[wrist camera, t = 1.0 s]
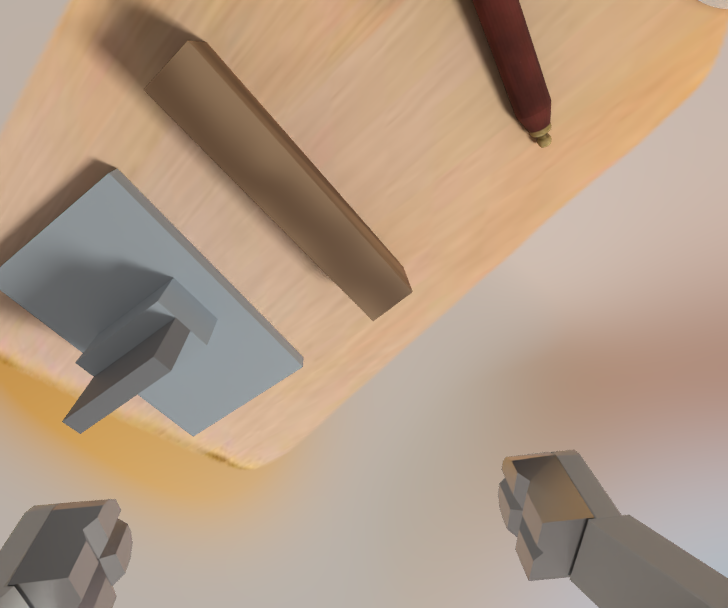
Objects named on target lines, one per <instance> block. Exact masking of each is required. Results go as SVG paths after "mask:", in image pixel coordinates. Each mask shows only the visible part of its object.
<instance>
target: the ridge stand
mask: <svg viewBox="0 0 728 608" xmlns="http://www.w3.org/2000/svg"><path fill="white" fill-rule="evenodd" d="M0 290H1V291H2V292H3V293H5V294H6V295H7V296H8V297H10V298H11V299H12V300H14V301H15V302H16V303H18V304H19V305H20V306H22V307H23V308H24V309H26V310H27V311H28V312H30V313H31V314H32V315H33V316H35V317H36V318H37V319H39V320H40V321H41V322H43V323H44V324H45V325H47V326H48V327H49V328H51V329H52V330H53V331H55V332H56V333H57V334H59V335H60V336H61V337H62V338H64V339H65V340H66V341H68V342H69V343H70V344H72V345H73V346H74V347H76V348H77V349H78V350H80V351H81V352H82V353H83V354H82V355H81V356H80V358H79V359H78V360H77V361H76V362H75V363H76V364H78V365H79V366H80V367H82V368H83V369H84V370H86V371H87V372H88V373H90V374H91V375H93V376H94V378H93V379H92V380H91V382H90V383H89V385H88V386H87V387H86V389H85V390H84V392H83V393H82V394H81V396H80V397H79V399H78V400H77V401H76V403H75V404H74V406H73V407H72V408H71V410H70V411H69V413H68V414H67V415H66V417H65V418H64V420H63V421H62V422H63V423H65V424H66V425H68V426H69V427H71V428H72V429H74V430H76V431H77V432H78V433H80V434H81V433H82V432H84V431H85V430H86V429H88V428H90V427H91V426H92V425H94V424H95V423H97V422H98V421H100V420H101V419H103V418H104V417H105V416H107V415H108V414H110V413H111V412H113V411H114V410H116V409H117V408H118V407H120V406H121V405H123V404H124V403H126V402H127V401H129V400H130V399H131V398H133V397H134V396H136V395H137V394H138V395H139V396H140V397H142V398H143V399H144V400H146V401H147V402H148V403H149V404H151V405H152V406H153V407H155V408H156V409H157V410H159V411H160V412H161V413H163V414H164V415H165V416H167V417H168V418H169V419H171V420H172V421H173V422H175V423H176V424H177V425H178V426H180V427H181V428H182V429H184V430H185V431H186V432H188V433H189V434H190V435H192V436H195V435H197V434H198V433H200V432H201V431H203V430H204V429H206V428H208V427H209V426H211V425H212V424H214V423H215V422H217V421H219V420H220V419H222V418H223V417H225V416H226V415H228V414H230V413H231V412H233V411H234V410H236V409H237V408H239V407H241V406H242V405H244V404H245V403H247V402H248V401H250V400H252V399H253V398H255V397H256V396H258V395H259V394H261V393H263V392H264V391H266V390H267V389H269V388H270V387H272V386H274V385H275V384H277V383H278V382H280V381H281V380H283V379H285V378H286V377H288V376H289V375H291V374H292V373H294V372H296V371H297V370H299V369H300V368H302V367H303V356H302V355H301V354H300V353H299V352H298V351H297V350H296V349H295V348H294V347H293V346H292V345H291V344H290V343H289V342H288V341H287V340H286V339H285V338H284V337H283V336H282V335H281V334H280V333H279V332H278V331H277V330H276V329H275V328H274V327H273V326H272V325H271V324H270V323H269V322H268V321H267V320H266V319H265V318H264V317H263V316H262V315H261V314H260V313H259V312H258V311H257V310H256V309H255V308H254V307H253V306H252V305H251V304H250V303H249V302H248V301H247V300H246V299H245V298H244V297H243V295H242V294H241V293H240V292H239V291H238V290H237V289H236V288H235V287H234V286H233V285H232V284H231V283H230V282H229V281H228V280H227V279H226V278H225V277H224V276H223V275H222V274H221V273H220V272H219V271H218V270H217V269H216V268H215V267H214V266H213V265H212V264H211V263H210V262H209V261H208V260H207V259H206V258H205V257H204V256H203V255H202V254H201V253H200V252H199V251H198V250H197V249H196V248H195V247H194V246H193V245H192V244H191V243H190V242H189V241H188V240H187V239H186V238H185V237H184V236H183V235H182V234H181V233H180V232H179V231H178V230H177V229H176V228H175V226H174V225H173V224H172V223H171V222H170V221H169V220H168V219H167V218H166V217H165V216H164V215H163V214H162V213H161V212H160V211H159V210H158V209H157V208H156V207H155V206H154V205H153V204H152V203H151V202H150V201H149V200H148V199H147V198H146V197H145V196H144V195H143V194H142V193H141V192H140V191H139V190H138V189H137V188H136V187H135V186H134V185H133V184H132V183H131V182H130V181H129V180H128V179H127V178H126V177H125V176H124V175H123V174H122V173H121V172H120V171H119V170H118V169H115V170H113V171H111V172H110V173H108V174H107V175H106V176H105V177H103V178H102V179H101V180H100V181H99V182H98V183H97V184H95V185H94V186H93V187H92V188H91V189H90V190H88V191H87V192H86V193H85V194H84V195H83V196H82V197H80V198H79V199H78V200H77V201H76V202H75V203H73V204H72V205H71V206H70V207H69V208H68V209H67V210H65V211H64V212H63V213H62V214H61V215H60V216H58V217H57V218H56V219H55V220H54V221H53V222H52V223H50V224H49V225H48V226H47V227H46V228H45V229H43V230H42V231H41V232H40V233H39V234H38V235H37V236H35V237H34V238H33V239H32V240H31V241H30V242H28V243H27V244H26V245H25V246H24V247H23V248H22V249H20V250H19V251H18V252H17V253H16V254H15V255H13V256H12V257H11V258H10V259H9V260H8V261H7V262H5V263H4V264H3V265H2V266H1V267H0Z"/></svg>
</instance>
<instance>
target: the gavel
mask: <svg viewBox="0 0 728 608" xmlns="http://www.w3.org/2000/svg"><path fill="white" fill-rule="evenodd" d="M472 1H473V3H474V6H475V9H476V11H477V14H478V17H479V19H480V22H481V25H482V27H483V30H484V33H485V35H486V38H487V41H488V43H489V46H490V49H491V51H492V54H493V57H494V59H495V62H496V65H497V67H498V70H499V73H500V75H501V78H502V81H503V83H504V86H505V89H506V91H507V94H508V97H509V99H510V102H511V105H512V107H513V110H514V113H515V115H516V118H517V119H518V120H519V121H520V122H521V123H522V124H523V126H524V127H525V128H526V129H527V130H528V131H529V133H530V135H531V136H532V137H537V138H538V139H537V143H538V145H539V146H540V147H541V148H544V147H547V146H549V145H550V144H551V136H550V135H549V134H548V132H549V131H550V129H551V123H550V116H551V99H550V95H549V92H548V89H547V86H546V83H545V80H544V77H543V74H542V71H541V68H540V64H539V61H538V58H537V55H536V52H535V49H534V46H533V43H532V40H531V37H530V34H529V30H528V27H527V24H526V21H525V18H524V15H523V12H522V9H521V6H520V3H519V0H472Z"/></svg>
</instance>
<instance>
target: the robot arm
mask: <svg viewBox="0 0 728 608" xmlns="http://www.w3.org/2000/svg"><path fill="white" fill-rule="evenodd" d="M699 1H700V2H702V3H704V4H707V5H709V6H712V7H716V8H722V9H728V0H699ZM502 471H503V474H504V475H505V479H503V481H502V482H500V483H499V491H498V497H499V506H500V510H501V514H502V518H503V520H504V523H505V525H506V528H507V529H508V530H509V531H510V532H511V533H513V534H514V535H515V536H516V537H518V538H517V543H516V549H515V550H516V552H517V554H518V556H519V559H520V561H521V564H522V566H523V569H524V571H525V573H526V576H527V578H528V580H529V581H533V580H544V579H555V578H565V577H570V580H571V581H572V582H573V583H574V584H575V585H576V586H577V587H578V588H579V589H580V590H581V591H582V592H583V593H584V594H585V595H586V596H587V597H589V598H590V599H591V600H592V601H593V602H594V603H595V604H596V605H597V606H598V607H599V608H728V578H726V577H725V576H723V575H722V574H720V573H718V572H717V571H715V570H714V569H713V568H711V567H709V566H708V565H706V564H705V563H703V562H702V561H700V560H699V559H697V558H695V557H694V556H692V555H691V554H689V553H688V552H686V551H685V550H683V549H681V548H680V547H678V546H677V545H675V544H674V543H672V542H671V541H669V540H668V539H666V538H664V537H663V536H661V535H660V534H658V533H656V532H655V531H653V530H652V529H650V528H649V527H647V526H646V525H644V524H643V523H641V522H640V521H638V520H636V519H635V518H633V517H632V516H630V515H621V513H620V512H619V511H618V509H617V507H616V506H615V504H614V503H613V502H612V500H611V499H610V497H609V496H608V494H607V493H606V491H605V490H604V489H603V487H602V486H601V484H600V483H599V482H598V480H597V478H596V477H595V476H594V474H593V473H592V471H591V470H590V468H589V467H588V465H587V464H586V463H585V461H584V460H583V458H582V457H581V455H580V454H579V453H578V452H577V451H575V450H566V451H556V452H544V453H535V454H527V455H518V456H510V457H506V458H505V459H504V460H503V464H502ZM120 512H121V509H120V507H119V505H118V503H117V501H116V499H108V500H95V501H84V502H83V501H82V502H70V503H59V504H48V505H37V506H33V507H32V508H30V509H29V510H28V511H27V512H26V513H25V514H24V515H23V516H22V518H21V520H20V521H19V523H18V524H17V526H16V527H15V529H14V530H13V532H12V533H11V535H10V537H9V538H8V539H7V541H6V542H5V544H4V546H3V547H2V549H1V550H0V608H112V607H113V605H114V602H115V599H116V594H115V591H114V588H113V585H114V584H115V583H116V582H117V581H118V580H119V579H120V578H121V577H122V576H123V575H124V574H125V573H126V570H127V567H128V564H129V561H130V557H131V551H132V535H131V530H130V528H129V526H128V524H127V523H125V522H123V521H122V520H120V519H118V516H119V514H120Z"/></svg>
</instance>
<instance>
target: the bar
mask: <svg viewBox="0 0 728 608" xmlns="http://www.w3.org/2000/svg"><path fill="white" fill-rule="evenodd" d="M144 91H145V92H146V93H147V94H148V95H149V96H150V97H151V98H152V99H153V100H154V101H155V102H156V103H157V104H158V105H159V106H160V107H161V108H162V109H163V110H164V111H165V112H166V113H167V114H168V115H169V116H170V117H171V118H172V119H173V120H174V121H175V122H176V123H177V124H178V125H179V126H180V127H181V128H182V129H183V130H184V131H185V132H186V133H187V134H188V135H189V136H190V137H191V138H192V139H193V140H194V141H195V142H196V143H197V144H198V145H199V146H200V147H201V148H202V149H203V150H204V151H205V152H206V153H207V154H208V155H209V156H210V157H211V158H212V159H213V160H214V161H215V162H216V163H217V164H218V165H219V166H220V167H221V168H222V169H223V170H224V171H225V172H226V173H227V174H228V175H229V176H230V177H231V178H232V179H233V180H234V181H235V182H236V183H237V184H238V185H239V186H240V187H241V188H242V189H243V190H244V191H245V192H246V193H247V194H248V195H249V197H250V198H251V199H252V200H253V201H254V202H255V203H256V204H257V205H258V206H259V207H260V208H261V209H262V210H263V211H264V212H265V213H266V214H267V215H268V216H269V217H270V218H271V219H272V220H273V221H274V222H275V223H276V224H277V225H278V226H279V227H280V228H281V229H282V230H283V231H284V232H285V233H286V234H287V235H288V236H289V237H290V238H291V239H292V240H293V241H294V242H295V243H296V244H297V245H298V246H299V247H300V248H301V249H302V250H303V251H304V252H305V253H306V254H307V255H308V256H309V257H310V258H311V259H312V260H313V261H314V262H315V263H316V264H317V265H318V266H319V267H320V268H321V269H322V270H323V271H324V272H325V273H326V274H327V275H328V276H329V277H330V278H331V279H332V280H333V281H334V282H335V283H336V284H337V285H338V286H339V287H340V288H341V289H342V290H343V291H344V292H345V293H346V294H347V295H348V296H349V297H350V298H351V299H352V300H353V301H354V302H355V303H356V304H357V305H358V306H359V307H360V308H361V309H362V310H363V311H364V312H365V313H366V315H367V316H368V317H369V318H370V319H371V320H372V321H374V320H376V319H377V318H378V317H380V316H381V315H382V314H384V313H385V312H386V311H388V310H389V309H390V308H392V307H393V306H394V305H396V304H397V303H398V302H400V301H401V300H402V299H404V298H405V297H406V296H408V295H409V294H411V293H412V289H411V286H410V284H409V281H408V278H407V276H406V273H405V270H404V268H403V266H402V265H401V264H400V263H399V261H398V260H397V259H396V258H395V257H394V256H393V255H392V253H391V252H390V251H389V250H388V249H387V248H386V247H385V245H384V244H383V243H382V242H381V241H380V240H379V239H378V237H377V236H376V235H375V234H374V233H373V232H372V231H371V229H370V228H369V227H368V226H367V225H366V224H365V223H364V222H363V220H362V219H361V218H360V217H359V216H358V215H357V214H356V212H355V211H354V210H353V209H352V208H351V207H350V206H349V204H348V203H347V202H346V201H345V200H344V199H343V198H342V196H341V195H340V194H339V193H338V192H337V191H336V190H335V188H334V187H333V186H332V185H331V184H330V183H329V182H328V180H327V179H326V178H325V177H324V176H323V175H322V174H321V172H320V171H319V170H318V169H317V168H316V167H315V166H314V164H313V163H312V162H311V161H310V160H309V159H308V158H307V156H306V155H305V154H304V153H303V152H302V151H301V150H300V148H299V147H298V146H297V145H296V144H295V143H294V142H293V140H292V139H291V138H290V137H289V136H288V135H287V134H286V132H285V131H284V130H283V129H282V128H281V127H280V126H279V124H278V123H277V122H276V121H275V120H274V119H273V118H272V116H271V115H270V114H269V113H268V112H267V111H266V110H265V108H264V107H263V106H262V105H261V104H260V103H259V102H258V100H257V99H256V98H255V97H254V96H253V95H252V94H251V92H250V91H249V90H248V89H247V88H246V87H245V86H244V84H243V83H242V82H241V81H240V80H239V79H238V78H237V76H236V75H235V74H234V73H233V72H232V71H231V70H230V68H229V67H228V66H227V65H226V64H225V63H224V62H223V60H222V59H221V58H220V57H219V56H218V55H217V54H216V52H215V51H214V50H213V49H212V48H211V47H210V46H209V44H208V43H207V42H199V41H189V40H188V41H187V42H186V43H185V44H184V45H183V46H182V47H181V49H180V50H179V51H178V52H177V53H176V54H175V55H174V56H173V57H172V59H171V60H170V61H169V62H168V63H167V64H166V65H165V66H164V67H163V69H162V70H161V71H160V72H159V73H158V74H157V75H156V76H155V77H154V78H153V80H152V81H151V82H150V83H149V84H148V85H147V86H146V87H145V88H144Z"/></svg>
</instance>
